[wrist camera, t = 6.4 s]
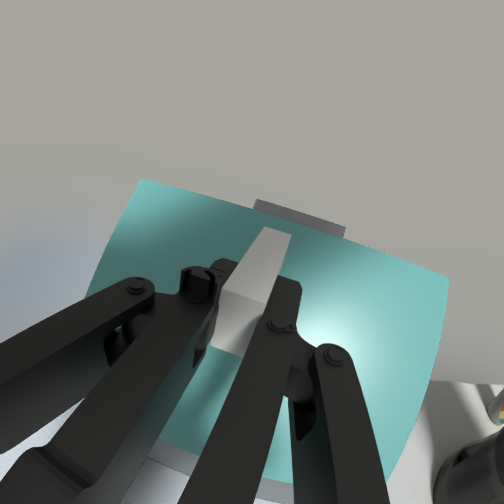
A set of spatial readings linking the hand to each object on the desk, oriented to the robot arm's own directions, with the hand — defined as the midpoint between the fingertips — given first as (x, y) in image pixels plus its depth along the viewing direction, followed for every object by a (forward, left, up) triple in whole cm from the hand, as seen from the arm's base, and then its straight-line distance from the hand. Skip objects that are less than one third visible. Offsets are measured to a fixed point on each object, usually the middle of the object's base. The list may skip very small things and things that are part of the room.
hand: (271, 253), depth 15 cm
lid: (-1, 0, -6) cm, 6 cm away
